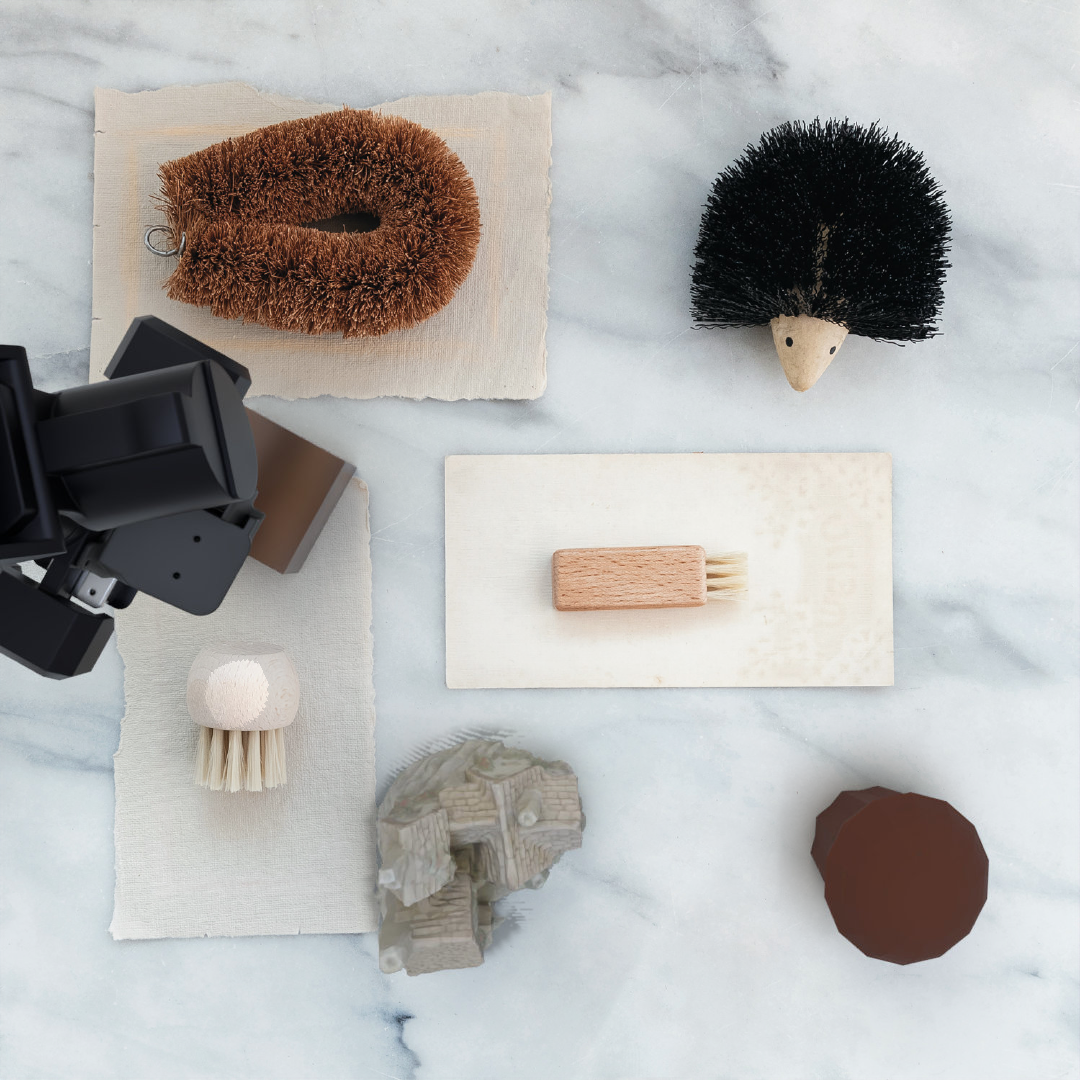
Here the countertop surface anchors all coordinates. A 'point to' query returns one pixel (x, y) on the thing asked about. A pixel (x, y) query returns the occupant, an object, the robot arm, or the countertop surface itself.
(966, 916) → the brown faceted knob
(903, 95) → the countertop surface
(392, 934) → the ceramic cottage
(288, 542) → the block
